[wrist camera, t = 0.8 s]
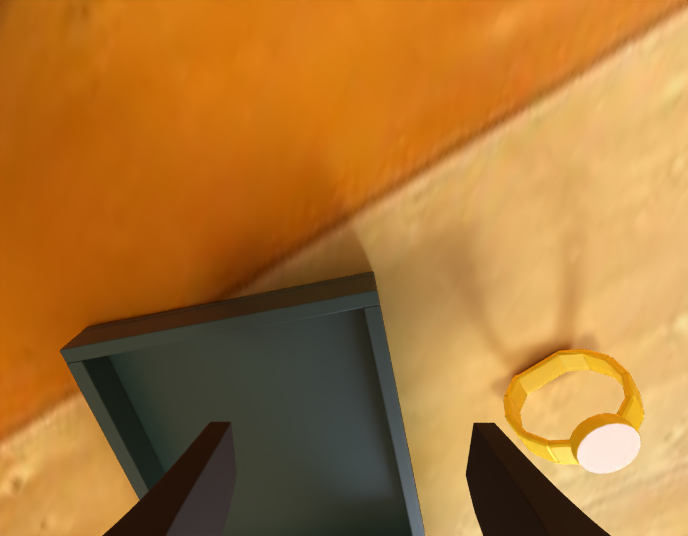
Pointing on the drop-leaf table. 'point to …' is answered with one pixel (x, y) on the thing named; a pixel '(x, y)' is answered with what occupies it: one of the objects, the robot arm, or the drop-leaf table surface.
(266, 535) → the tray
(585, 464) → the watch
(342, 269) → the drop-leaf table surface
